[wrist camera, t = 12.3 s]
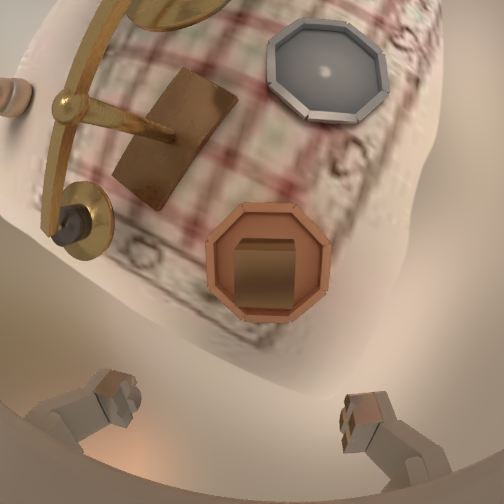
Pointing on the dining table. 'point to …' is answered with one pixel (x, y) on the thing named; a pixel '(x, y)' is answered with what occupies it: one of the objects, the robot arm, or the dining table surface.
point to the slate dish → (327, 71)
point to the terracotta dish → (276, 227)
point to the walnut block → (264, 273)
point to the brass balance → (128, 128)
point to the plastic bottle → (14, 96)
